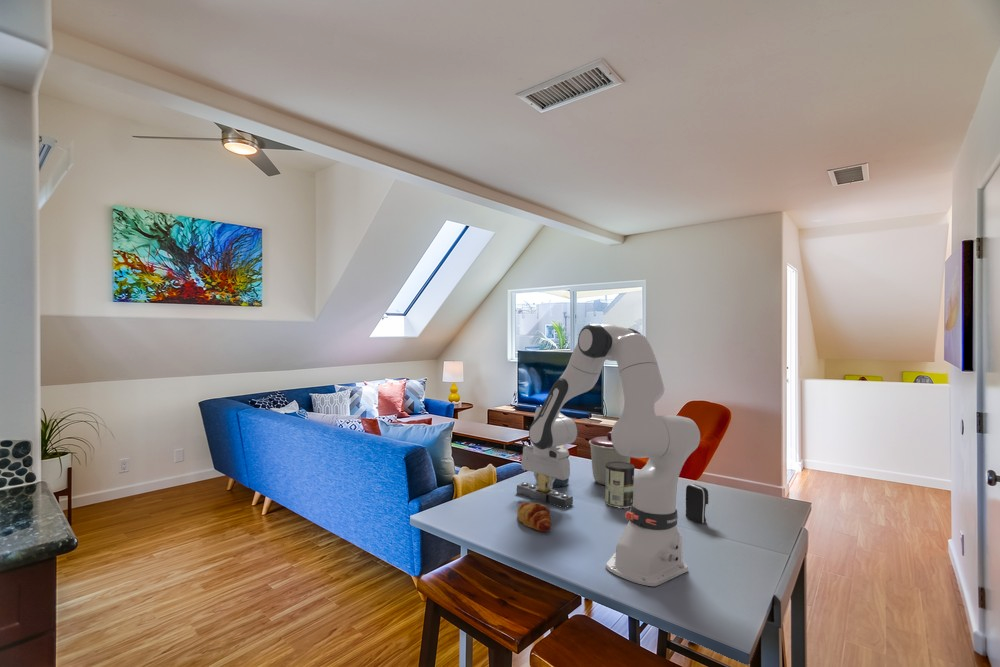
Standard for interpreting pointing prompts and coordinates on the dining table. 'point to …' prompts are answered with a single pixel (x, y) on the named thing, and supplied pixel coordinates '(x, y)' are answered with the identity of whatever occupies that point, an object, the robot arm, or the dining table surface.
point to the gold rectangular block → (543, 483)
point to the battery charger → (696, 502)
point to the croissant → (535, 516)
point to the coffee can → (619, 484)
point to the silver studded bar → (544, 495)
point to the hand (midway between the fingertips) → (544, 486)
